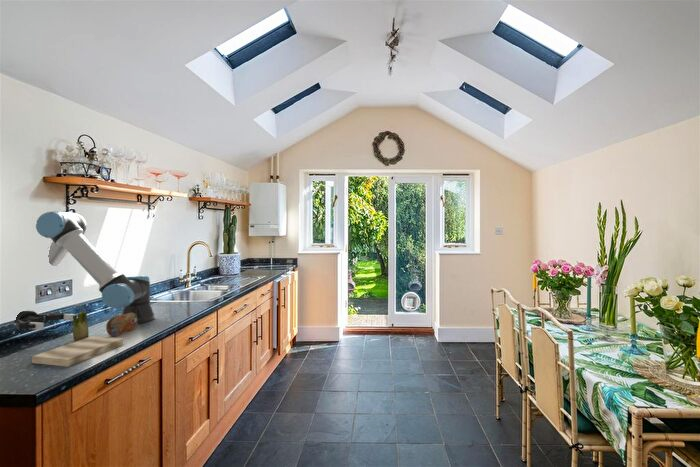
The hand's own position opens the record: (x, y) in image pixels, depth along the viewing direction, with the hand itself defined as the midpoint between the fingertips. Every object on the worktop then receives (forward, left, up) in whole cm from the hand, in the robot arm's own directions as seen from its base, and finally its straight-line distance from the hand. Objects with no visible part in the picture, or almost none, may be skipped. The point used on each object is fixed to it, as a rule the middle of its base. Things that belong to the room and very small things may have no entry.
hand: (60, 321), depth 146 cm
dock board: (+12, +26, -7) cm, 29 cm away
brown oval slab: (-12, +20, -8) cm, 25 cm away
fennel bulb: (0, +11, -8) cm, 13 cm away
